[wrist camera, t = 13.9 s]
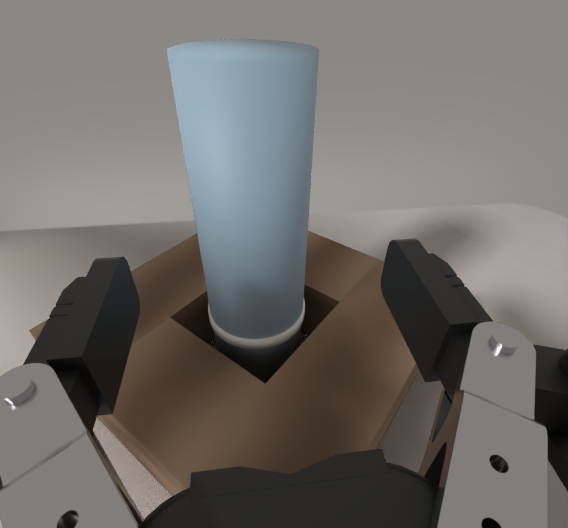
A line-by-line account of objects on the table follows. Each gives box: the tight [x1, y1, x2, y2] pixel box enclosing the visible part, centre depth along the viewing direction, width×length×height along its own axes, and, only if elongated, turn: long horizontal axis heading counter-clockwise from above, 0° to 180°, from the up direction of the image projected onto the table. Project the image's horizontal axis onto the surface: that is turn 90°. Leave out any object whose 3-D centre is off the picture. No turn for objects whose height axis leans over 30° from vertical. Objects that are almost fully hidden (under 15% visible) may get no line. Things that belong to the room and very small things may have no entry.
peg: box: [167, 39, 319, 384], centre depth 16 cm, size 5×5×16 cm
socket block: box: [29, 231, 419, 496], centre depth 20 cm, size 16×16×4 cm
